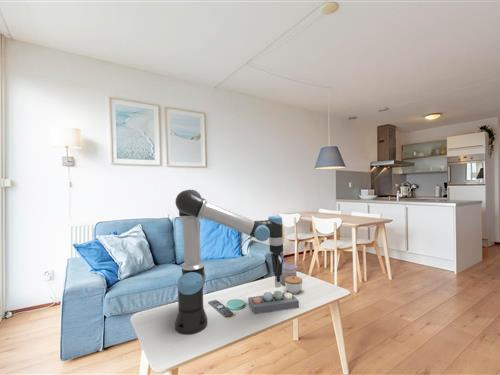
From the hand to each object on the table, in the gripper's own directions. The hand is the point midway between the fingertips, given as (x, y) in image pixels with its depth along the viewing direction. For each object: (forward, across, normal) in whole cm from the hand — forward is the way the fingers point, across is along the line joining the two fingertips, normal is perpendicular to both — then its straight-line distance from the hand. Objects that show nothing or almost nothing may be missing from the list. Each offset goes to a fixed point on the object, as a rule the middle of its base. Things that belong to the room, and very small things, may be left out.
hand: (277, 286), depth 140 cm
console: (+10, 0, +3) cm, 10 cm away
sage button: (+7, 0, 0) cm, 7 cm away
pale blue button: (+7, 0, +6) cm, 9 cm away
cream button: (+9, 0, -6) cm, 11 cm away
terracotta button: (+9, 0, +12) cm, 15 cm away
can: (+11, +26, -17) cm, 33 cm away
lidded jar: (+11, +13, -15) cm, 23 cm away
